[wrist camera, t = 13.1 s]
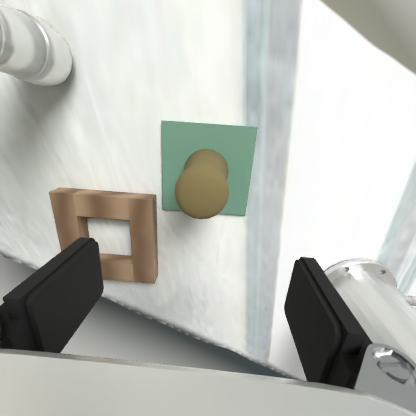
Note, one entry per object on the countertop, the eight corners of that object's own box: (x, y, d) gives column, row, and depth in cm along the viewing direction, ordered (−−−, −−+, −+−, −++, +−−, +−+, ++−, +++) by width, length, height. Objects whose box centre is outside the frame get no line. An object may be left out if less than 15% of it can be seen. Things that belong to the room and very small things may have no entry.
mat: (256, 127, 28) (257, 127, 28) (244, 214, 32) (245, 215, 32) (162, 120, 28) (161, 120, 28) (163, 208, 33) (162, 209, 32)
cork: (229, 149, 29) (236, 164, 18) (227, 193, 31) (232, 229, 21) (183, 148, 29) (164, 163, 19) (184, 192, 31) (168, 227, 21)
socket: (156, 194, 32) (151, 199, 30) (157, 274, 37) (154, 283, 35) (59, 187, 32) (48, 192, 30) (74, 267, 37) (66, 276, 35)
